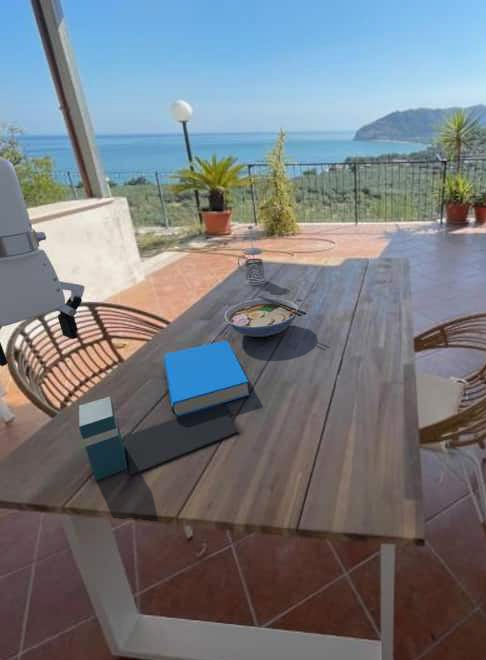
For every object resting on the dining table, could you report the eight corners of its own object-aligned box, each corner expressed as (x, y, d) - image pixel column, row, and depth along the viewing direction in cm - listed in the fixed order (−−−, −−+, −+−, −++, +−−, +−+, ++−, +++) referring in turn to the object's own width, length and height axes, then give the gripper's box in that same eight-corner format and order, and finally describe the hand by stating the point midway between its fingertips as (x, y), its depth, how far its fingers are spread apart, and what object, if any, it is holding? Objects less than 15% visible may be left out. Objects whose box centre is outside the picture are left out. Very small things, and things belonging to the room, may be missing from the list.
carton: (95, 480, 70) (78, 426, 66) (94, 456, 76) (78, 405, 71) (127, 468, 73) (113, 415, 69) (123, 446, 78) (110, 396, 74)
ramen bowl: (212, 331, 126) (208, 308, 124) (271, 311, 142) (269, 290, 139) (253, 358, 110) (250, 333, 107) (315, 332, 126) (314, 309, 123)
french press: (266, 284, 169) (261, 227, 161) (239, 286, 167) (232, 228, 159) (267, 277, 178) (262, 223, 170) (241, 279, 176) (235, 224, 168)
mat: (130, 476, 71) (130, 474, 71) (124, 438, 80) (123, 436, 80) (238, 432, 82) (238, 431, 82) (221, 403, 91) (221, 402, 91)
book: (226, 339, 113) (249, 379, 92) (228, 353, 114) (251, 394, 94) (161, 354, 105) (170, 401, 84) (164, 368, 106) (173, 418, 86)
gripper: (56, 232, 65) (81, 324, 71) (-91, 256, 51) (-44, 369, 57) (81, 236, 62) (105, 332, 68) (-68, 264, 48) (-21, 382, 54)
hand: (37, 349), depth 63 cm, fingers open, 9 cm apart
